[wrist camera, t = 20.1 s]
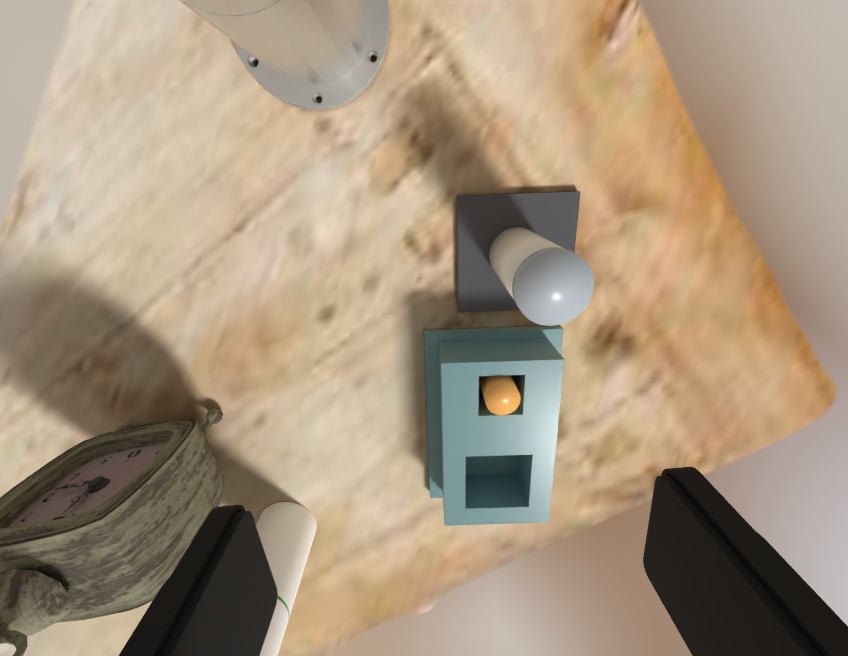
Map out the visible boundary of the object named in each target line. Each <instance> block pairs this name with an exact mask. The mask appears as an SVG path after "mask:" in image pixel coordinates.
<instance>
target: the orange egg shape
mask: <svg viewBox="0 0 848 656" xmlns="http://www.w3.org/2000/svg"><path fill="white" fill-rule="evenodd" d="M479 382H480V386H481V389H482V393H483V397H484V400H485V404H486V406H487V408H488V410H489V411H491V412H492V413H494V414H496V415H507V414H510V413H512V412H513V411H515V410H516V409H517V408H518V406H519V404H520V400H521V397H520V393H519V391H518V389H517V387H516V385H515V382H514V380H513V378H512V376H511V375H503V376H479Z"/></svg>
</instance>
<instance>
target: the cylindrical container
mask: <svg viewBox="0 0 848 656" xmlns="http://www.w3.org/2000/svg"><path fill="white" fill-rule="evenodd" d="M256 528H257V531H258V534H259V537H260V540H261V543H262V546H263V548H264V551H265V554H266V557H267V560H268V563H269V566H270V569H271V572H272V575H273V578H274V581H275V584H276V587H277V594H278V595H277V603H276V607H275V610H274V613H273V616H272V619H271V623H270V626H269V629H268V632H267V635H266V638H265V641H264V644H263V647H262V650H261V653H260V656H278V652H279V649H280V646H281V643H282V639H283V636H284V633H285V630H286V627H287V623H288V620H289V617H290V614H291V610H292V607H293V604H294V601H295V597H296V594H297V591H298V588H299V584H300V581H301V578H302V575H303V571H304V568H305V565H306V562H307V558H308V555H309V552H310V549H311V545H312V542H313V539H314V535H315V532H316V528H317V524H316V520H315V518H314V516H313V515H312V513H311V512H310V511H309V510H307V509H306V508H304V507H303V506H301V505H298V504H296V503H291V502H279V503H274V504H272V505H270V506H268V507H267V508H265V509H264V511H263V512H262V514H261V516H260V518H259V520H258V522H257V524H256Z"/></svg>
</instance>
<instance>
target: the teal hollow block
mask: <svg viewBox="0 0 848 656" xmlns="http://www.w3.org/2000/svg"><path fill="white" fill-rule="evenodd" d="M562 339H563V328H562V327H561V326H530V327H500V328H470V329H440V330H424V349H425V376H426V403H427V430H428V456H429V483H430V498H442V497H443V507H444V523H445V525H478V524H513V523H548V522H549V511H550V501H551V491H552V481H553V471H554V460H555V450H556V440H557V430H558V420H559V410H560V399H561V389H562V379H563V369H564V358H563V357H562V356H561V349H562ZM503 375H511V376H512V378H513V380H514V382H515V385H516V387H517V389H518V391H519V393H520V397H521V400H520V404H519V406H518V408H517V409H516V410H515V411H513V412H512V413H510V414H507V415H496V414H494V413H492V412H491V411H489V410H488V408H487V406H486V404H485V400H484V397H483V393H482V389H481V386H480V382H479V376H503Z"/></svg>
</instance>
